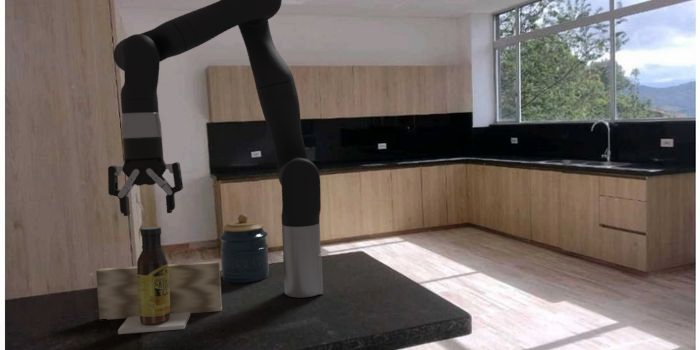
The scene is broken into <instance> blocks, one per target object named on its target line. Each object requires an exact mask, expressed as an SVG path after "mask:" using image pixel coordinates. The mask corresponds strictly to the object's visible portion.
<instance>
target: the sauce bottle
mask: <svg viewBox="0 0 700 350" xmlns="http://www.w3.org/2000/svg"><path fill="white" fill-rule="evenodd" d="M161 234H162V228H161V226H156V225H155V226H153V225H152V226H145V227H141V228H140V236H141V245H142V246H141V249H142V250H141V252H140V254H139V257H138V259H137V261H136V266H137V271H138V273H137V283H138V304H139V315H140V321H141V323H142V324H147V325H153V324H158V323H162V322H165V321H167V320H168V319H169V317H170V292H169V272H168V264H169V263H168V260H167V258H166V255H165V253H164V250H163V249H162V241H161V239H162V238H161Z"/></svg>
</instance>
